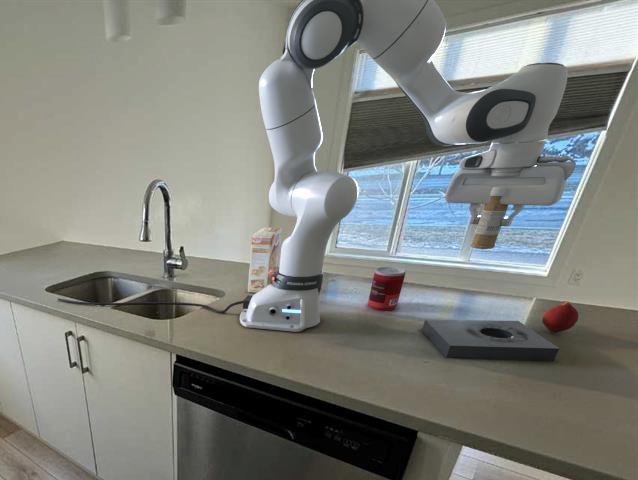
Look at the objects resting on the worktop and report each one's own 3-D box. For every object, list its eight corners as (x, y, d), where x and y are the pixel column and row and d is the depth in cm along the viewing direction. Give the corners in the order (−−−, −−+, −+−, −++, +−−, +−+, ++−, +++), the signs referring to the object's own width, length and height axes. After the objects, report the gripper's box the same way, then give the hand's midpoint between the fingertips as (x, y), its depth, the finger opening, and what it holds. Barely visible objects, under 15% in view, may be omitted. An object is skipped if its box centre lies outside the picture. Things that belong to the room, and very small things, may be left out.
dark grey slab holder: (446, 357, 93) (450, 345, 91) (421, 330, 106) (424, 319, 104) (553, 361, 87) (559, 348, 86) (513, 331, 101) (518, 320, 99)
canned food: (397, 303, 123) (406, 267, 117) (395, 312, 117) (405, 274, 112) (368, 301, 127) (376, 265, 121) (365, 309, 121) (374, 272, 116)
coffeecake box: (267, 294, 140) (272, 235, 130) (246, 292, 144) (250, 235, 134) (277, 282, 151) (282, 227, 141) (257, 280, 154) (262, 227, 145)
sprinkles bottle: (492, 245, 97) (515, 184, 90) (495, 250, 94) (518, 186, 87) (469, 245, 99) (488, 184, 93) (470, 249, 96) (490, 187, 89)
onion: (564, 329, 100) (579, 298, 96) (574, 338, 95) (591, 306, 91) (533, 327, 102) (547, 296, 98) (542, 336, 97) (556, 304, 94)
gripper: (584, 153, 81) (553, 226, 88) (463, 158, 96) (445, 219, 103) (575, 156, 78) (544, 231, 85) (452, 160, 93) (434, 224, 100)
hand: (489, 225), depth 94 cm, fingers closed on sprinkles bottle, 4 cm apart
